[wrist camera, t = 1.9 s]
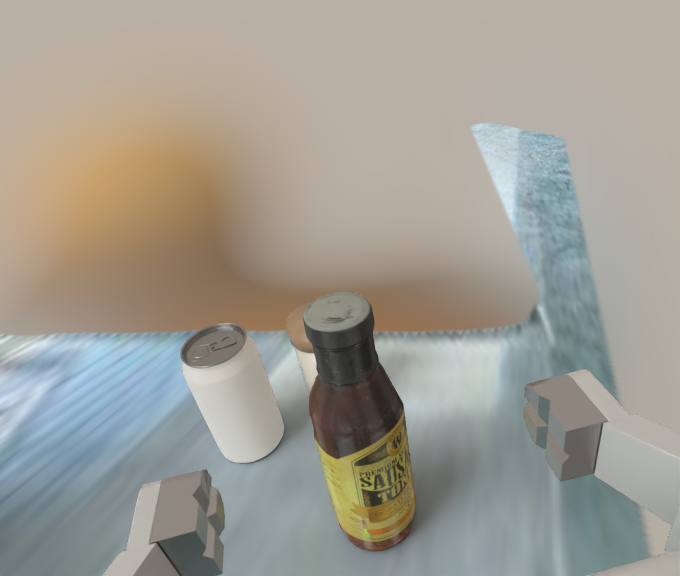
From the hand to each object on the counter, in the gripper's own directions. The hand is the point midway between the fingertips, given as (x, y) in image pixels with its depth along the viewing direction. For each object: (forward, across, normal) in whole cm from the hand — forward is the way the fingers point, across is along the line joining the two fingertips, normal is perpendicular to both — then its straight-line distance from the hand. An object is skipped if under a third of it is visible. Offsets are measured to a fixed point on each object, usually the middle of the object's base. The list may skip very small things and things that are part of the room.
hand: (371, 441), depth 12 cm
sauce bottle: (+14, 0, +26) cm, 30 cm away
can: (+25, +10, +26) cm, 37 cm away
